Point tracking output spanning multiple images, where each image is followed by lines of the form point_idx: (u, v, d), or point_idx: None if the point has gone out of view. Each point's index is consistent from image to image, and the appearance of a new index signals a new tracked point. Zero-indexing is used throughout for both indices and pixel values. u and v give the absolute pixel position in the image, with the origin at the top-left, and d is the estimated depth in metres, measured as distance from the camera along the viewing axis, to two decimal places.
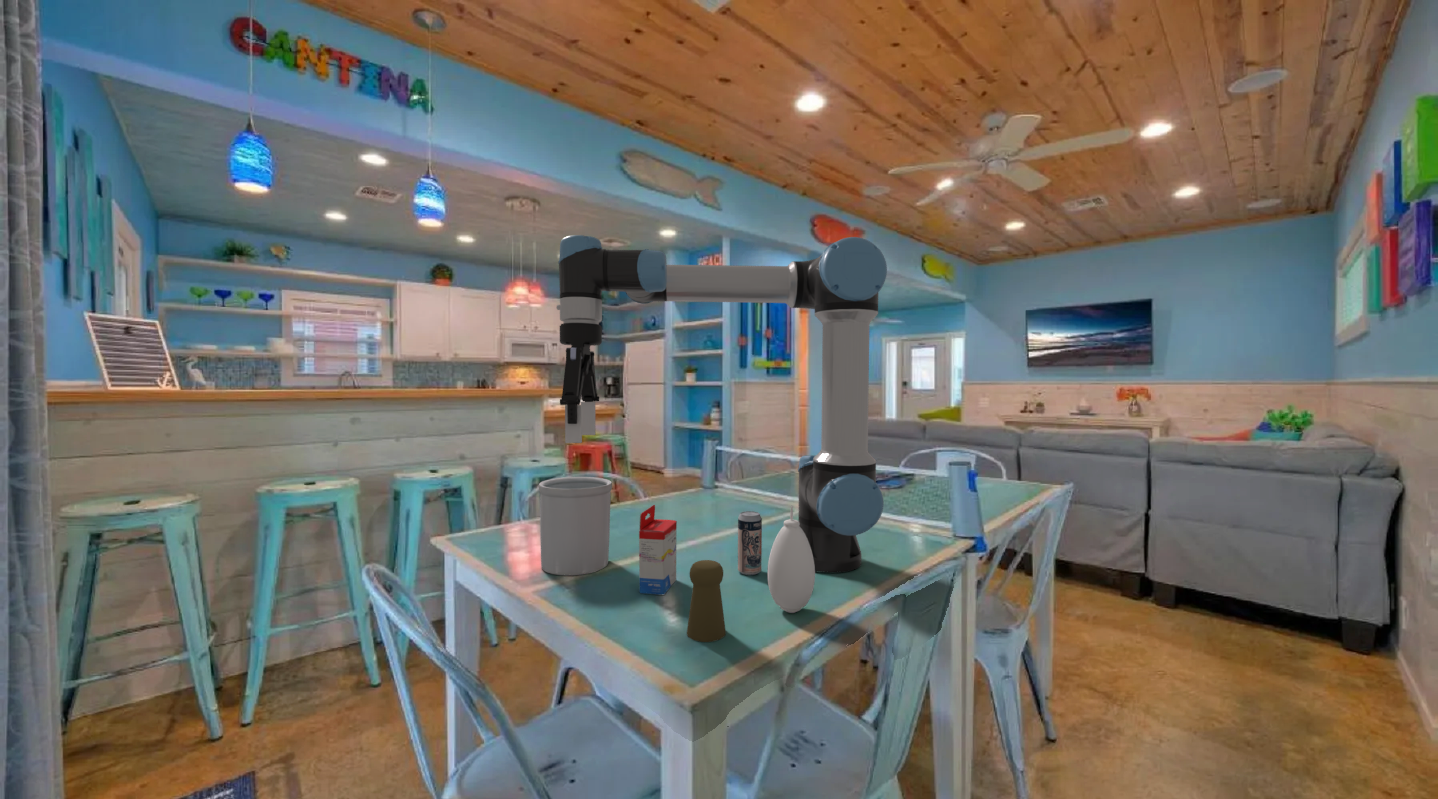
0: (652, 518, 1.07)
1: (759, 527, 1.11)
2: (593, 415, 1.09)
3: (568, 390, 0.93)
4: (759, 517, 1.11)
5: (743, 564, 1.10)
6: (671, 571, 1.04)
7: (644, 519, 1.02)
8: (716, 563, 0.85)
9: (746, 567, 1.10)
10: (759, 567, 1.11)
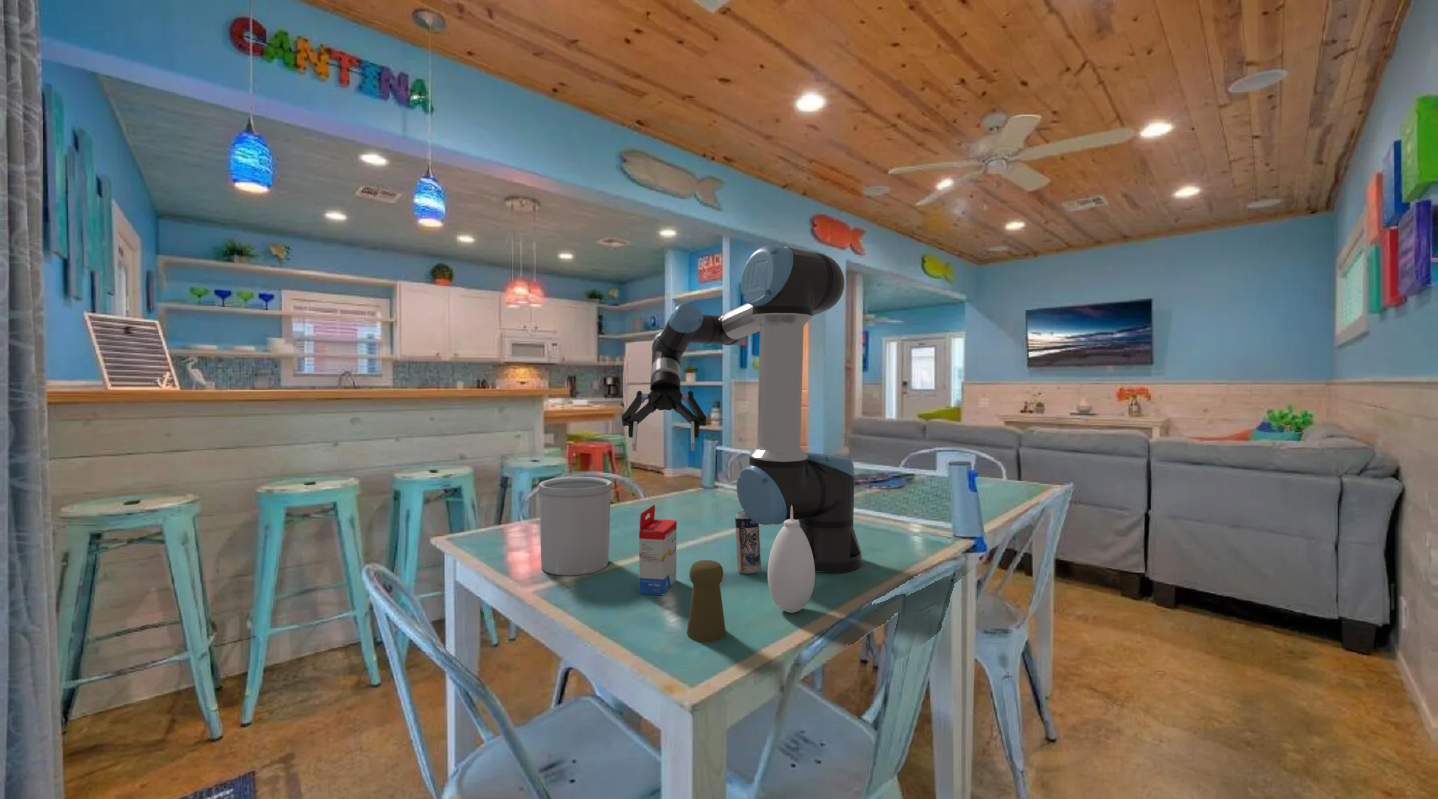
0: (652, 518, 1.07)
1: (756, 524, 1.12)
2: None
3: None
4: None
5: (742, 563, 1.11)
6: (671, 571, 1.04)
7: (644, 519, 1.02)
8: (716, 563, 0.85)
9: (745, 565, 1.10)
10: (758, 565, 1.11)
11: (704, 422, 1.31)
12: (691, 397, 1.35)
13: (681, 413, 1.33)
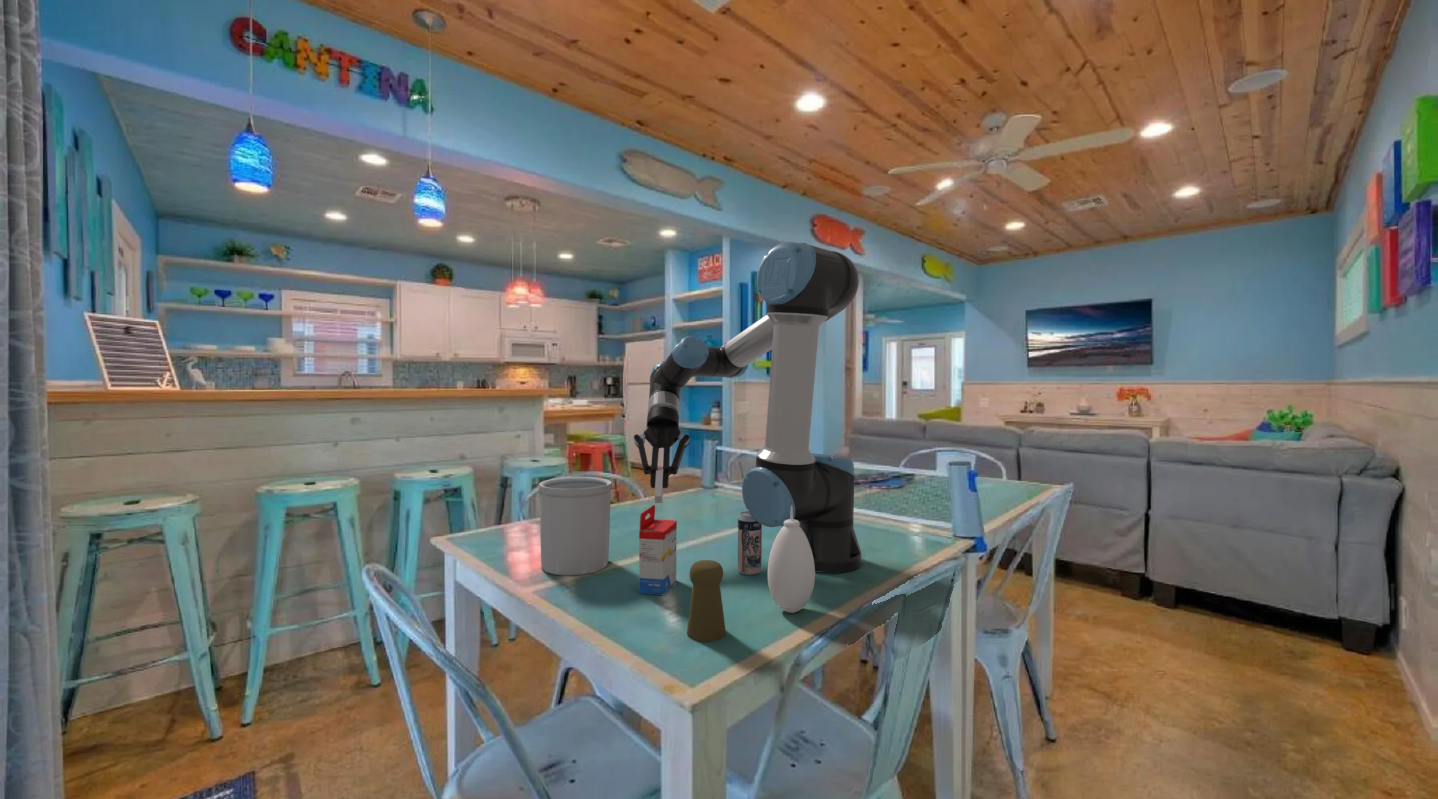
0: (652, 518, 1.07)
1: (759, 527, 1.11)
2: None
3: (642, 466, 1.22)
4: None
5: (743, 564, 1.10)
6: (671, 571, 1.04)
7: (644, 519, 1.02)
8: (716, 563, 0.85)
9: (746, 567, 1.10)
10: (759, 567, 1.11)
11: (673, 470, 1.21)
12: (683, 441, 1.26)
13: None
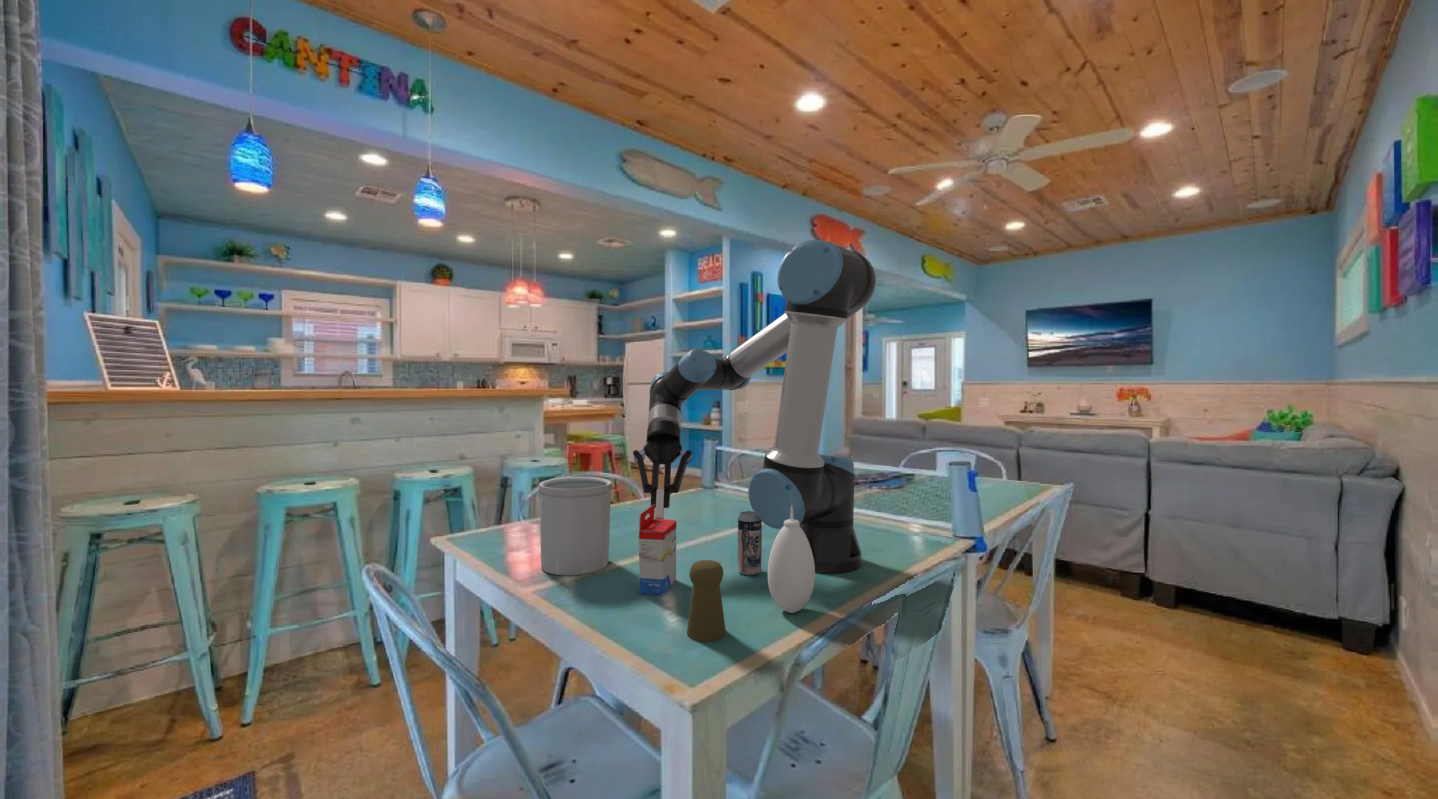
0: (652, 518, 1.07)
1: (759, 527, 1.11)
2: None
3: (642, 484, 1.16)
4: None
5: (743, 564, 1.10)
6: (671, 571, 1.04)
7: (644, 519, 1.02)
8: (716, 563, 0.85)
9: (746, 567, 1.10)
10: (759, 567, 1.11)
11: (674, 489, 1.15)
12: (685, 457, 1.19)
13: None
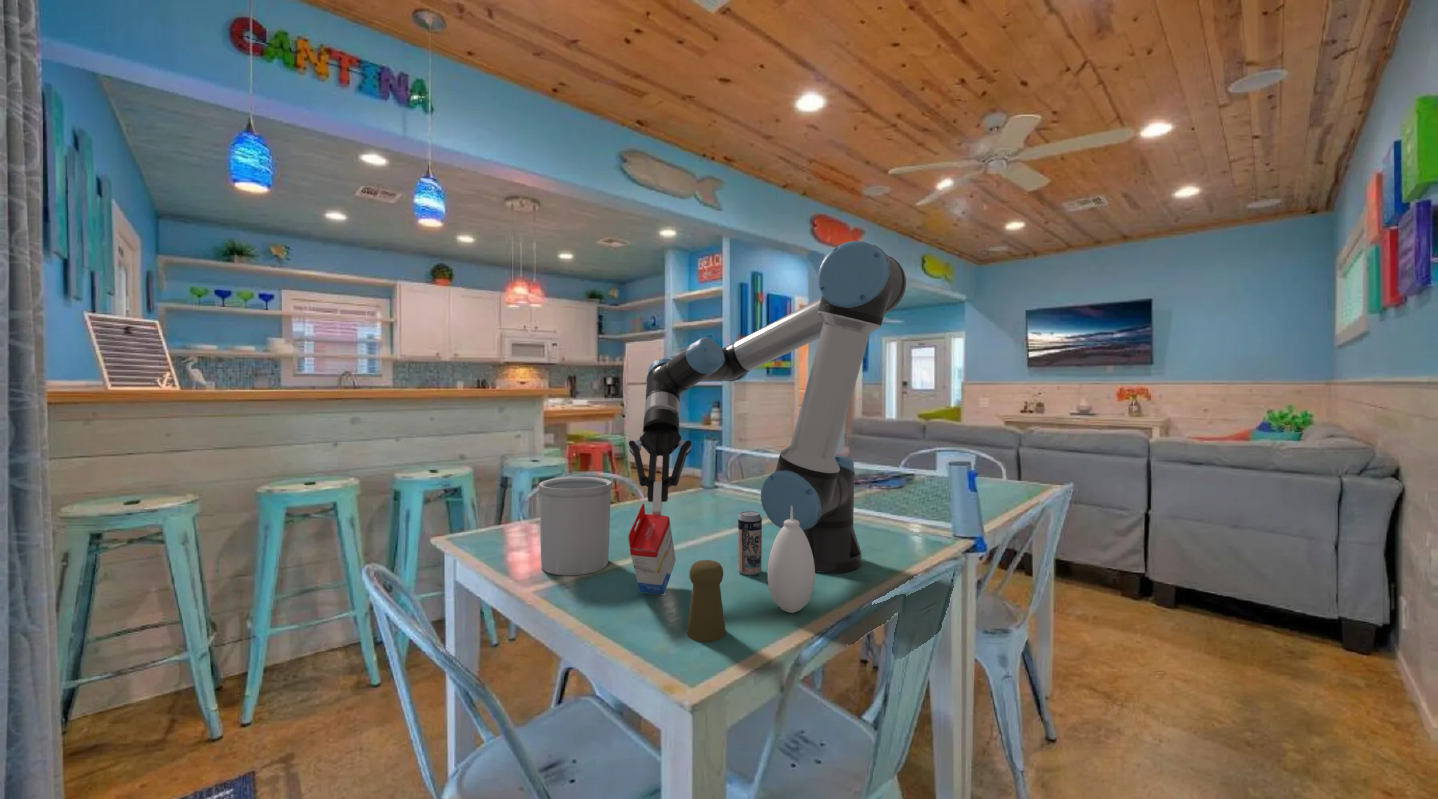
0: (643, 517, 1.00)
1: (759, 527, 1.11)
2: None
3: (638, 476, 1.08)
4: (759, 517, 1.11)
5: (743, 564, 1.10)
6: (669, 565, 1.02)
7: (633, 533, 0.95)
8: (716, 563, 0.85)
9: (746, 567, 1.10)
10: (759, 567, 1.11)
11: (673, 482, 1.07)
12: (684, 448, 1.11)
13: None
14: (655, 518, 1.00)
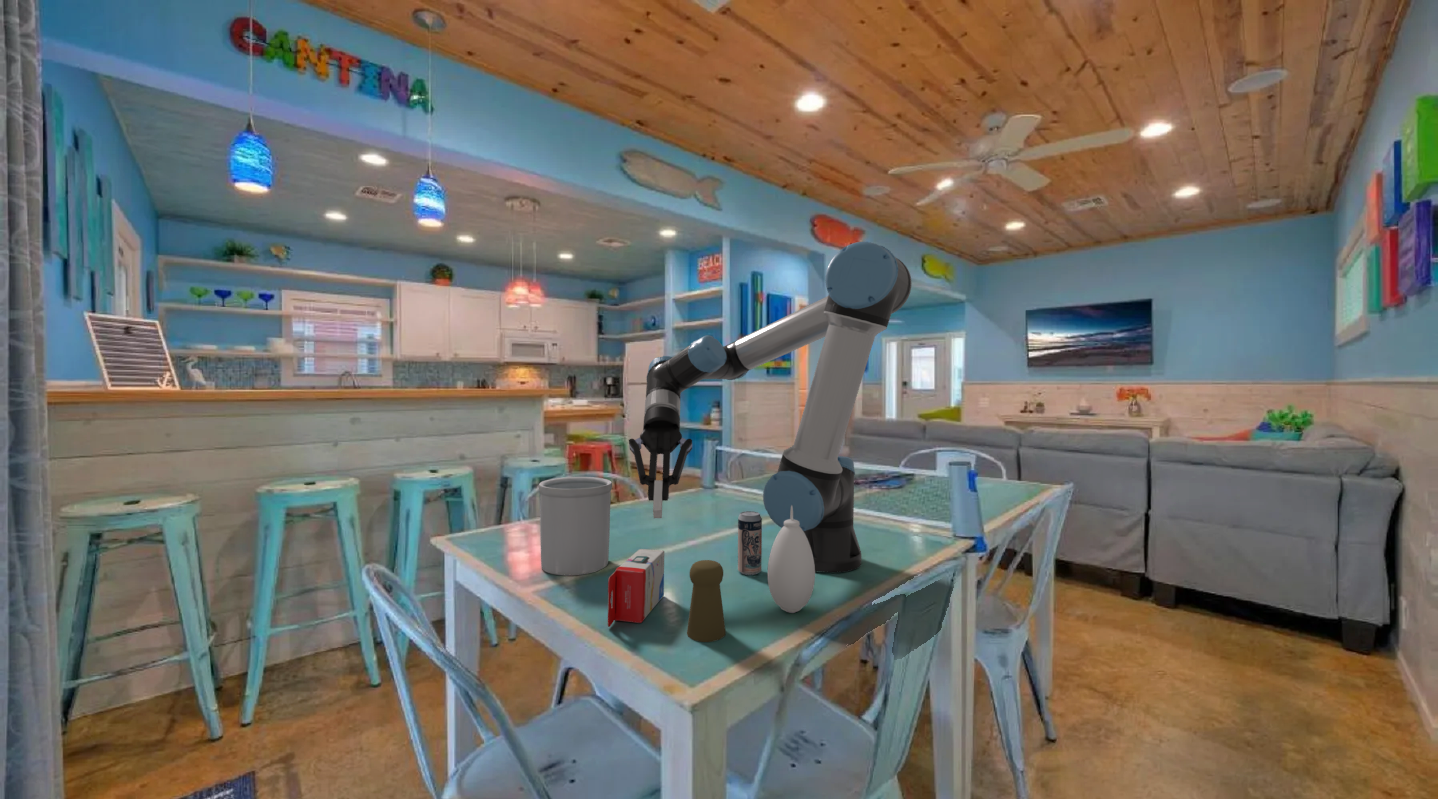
0: (614, 579, 0.88)
1: (759, 527, 1.11)
2: None
3: None
4: (759, 517, 1.11)
5: (743, 564, 1.10)
6: (659, 576, 0.97)
7: (612, 611, 0.88)
8: (716, 563, 0.85)
9: (746, 567, 1.10)
10: (759, 567, 1.11)
11: (674, 480, 1.05)
12: (685, 446, 1.10)
13: None
14: (628, 577, 0.88)
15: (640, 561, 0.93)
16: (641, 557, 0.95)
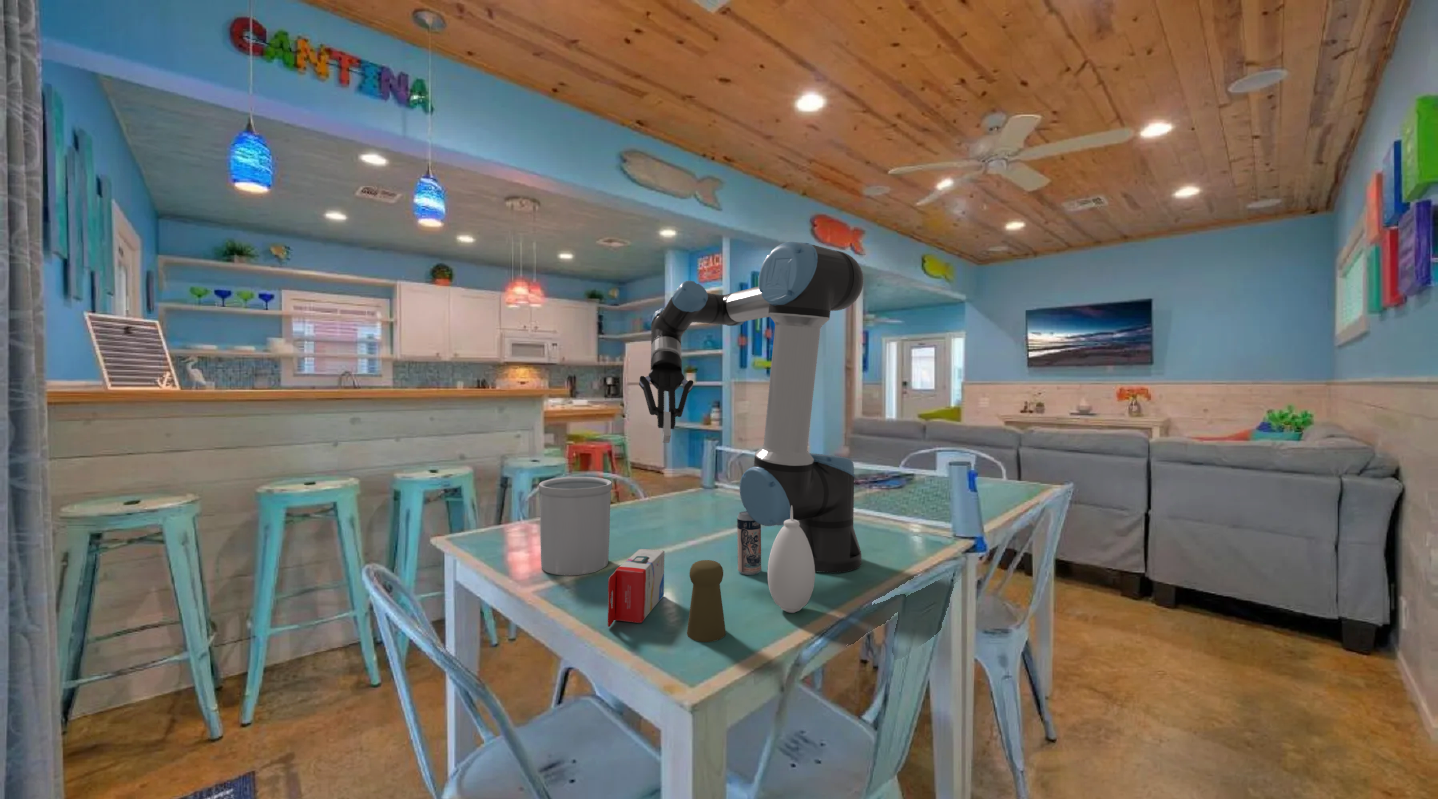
0: (614, 579, 0.88)
1: (758, 526, 1.11)
2: None
3: (649, 406, 1.26)
4: None
5: (743, 564, 1.10)
6: (659, 576, 0.97)
7: (612, 611, 0.88)
8: (716, 563, 0.85)
9: (746, 566, 1.10)
10: (759, 567, 1.11)
11: (679, 413, 1.26)
12: (687, 386, 1.30)
13: (669, 397, 1.29)
14: (628, 577, 0.88)
15: (640, 561, 0.93)
16: (641, 557, 0.95)
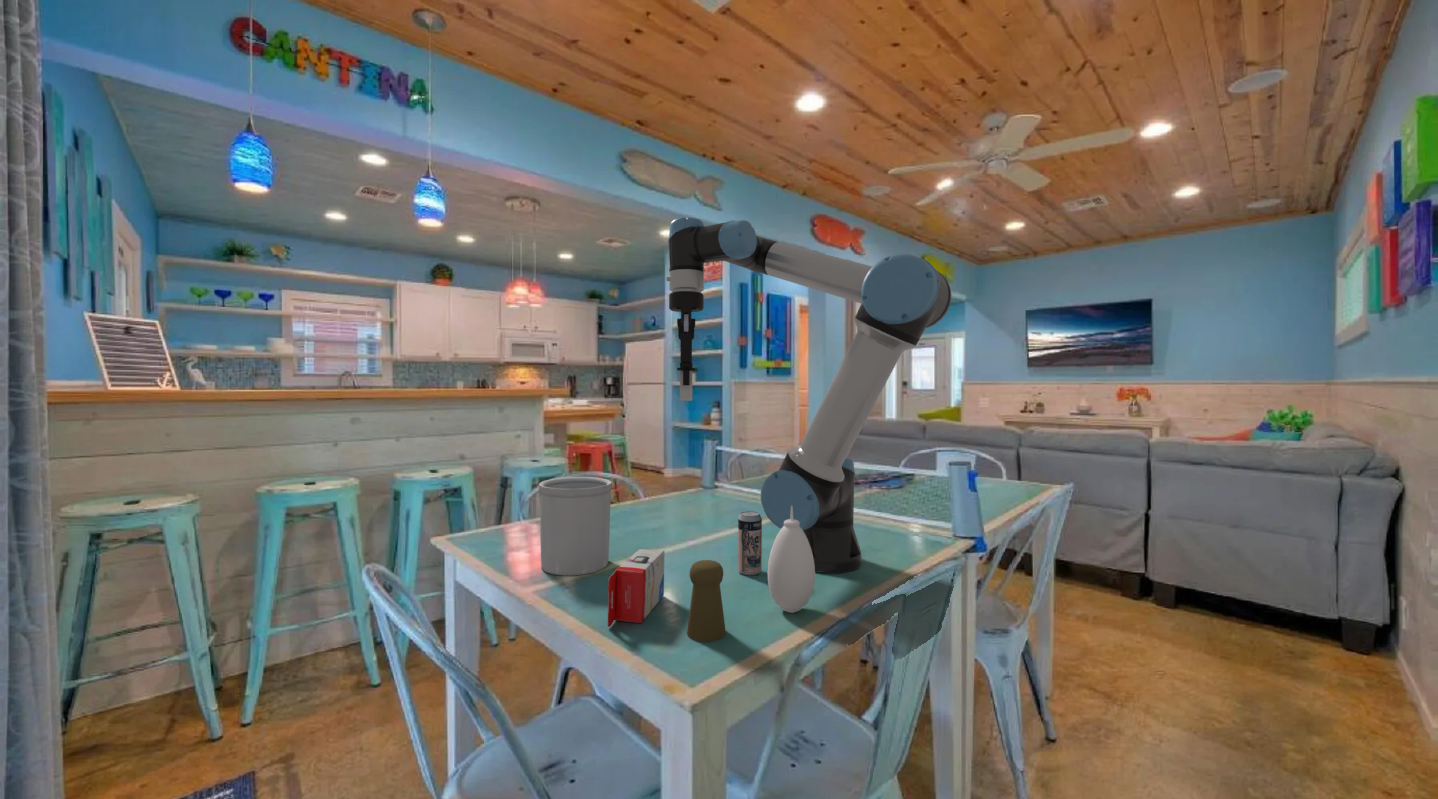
0: (614, 579, 0.88)
1: (759, 527, 1.11)
2: None
3: (684, 360, 1.17)
4: (759, 517, 1.11)
5: (743, 564, 1.10)
6: (659, 576, 0.97)
7: (612, 611, 0.88)
8: (716, 563, 0.85)
9: (746, 567, 1.10)
10: (759, 567, 1.11)
11: None
12: None
13: None
14: (628, 577, 0.88)
15: (640, 561, 0.93)
16: (641, 557, 0.95)
